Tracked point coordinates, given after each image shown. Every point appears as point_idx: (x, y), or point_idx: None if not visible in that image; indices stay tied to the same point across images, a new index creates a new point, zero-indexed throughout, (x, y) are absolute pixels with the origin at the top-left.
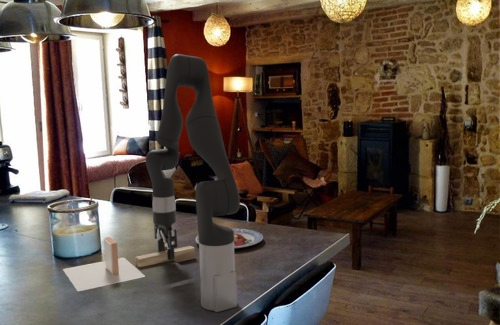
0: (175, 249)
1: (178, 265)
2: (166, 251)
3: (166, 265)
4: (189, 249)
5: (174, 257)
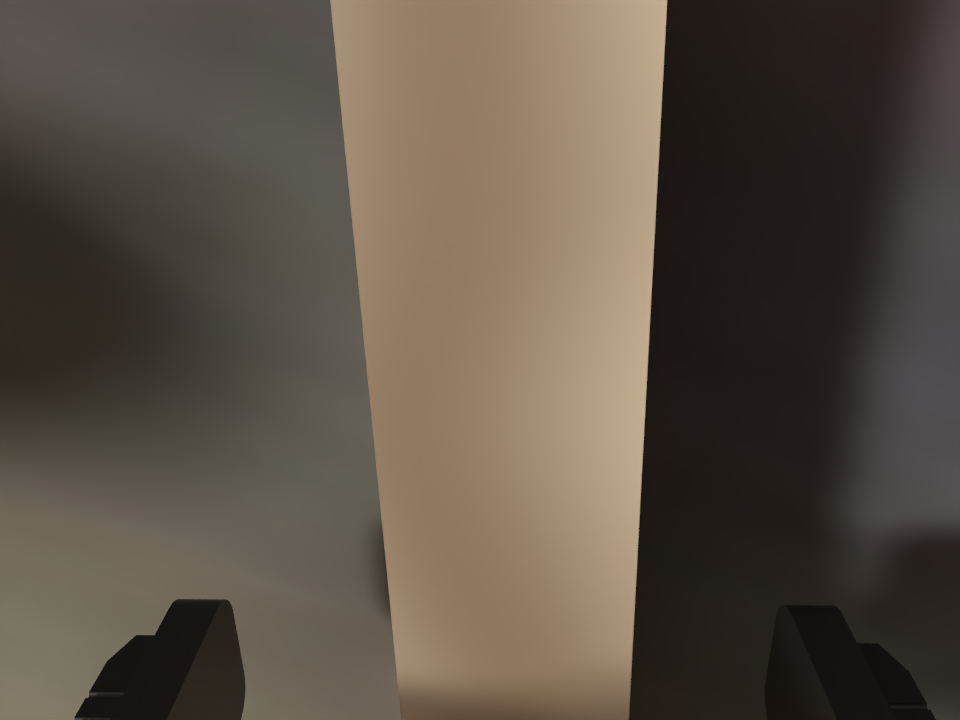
0: (440, 488)
1: (818, 440)
2: (471, 707)
3: (657, 602)
4: (660, 107)
5: (844, 621)
